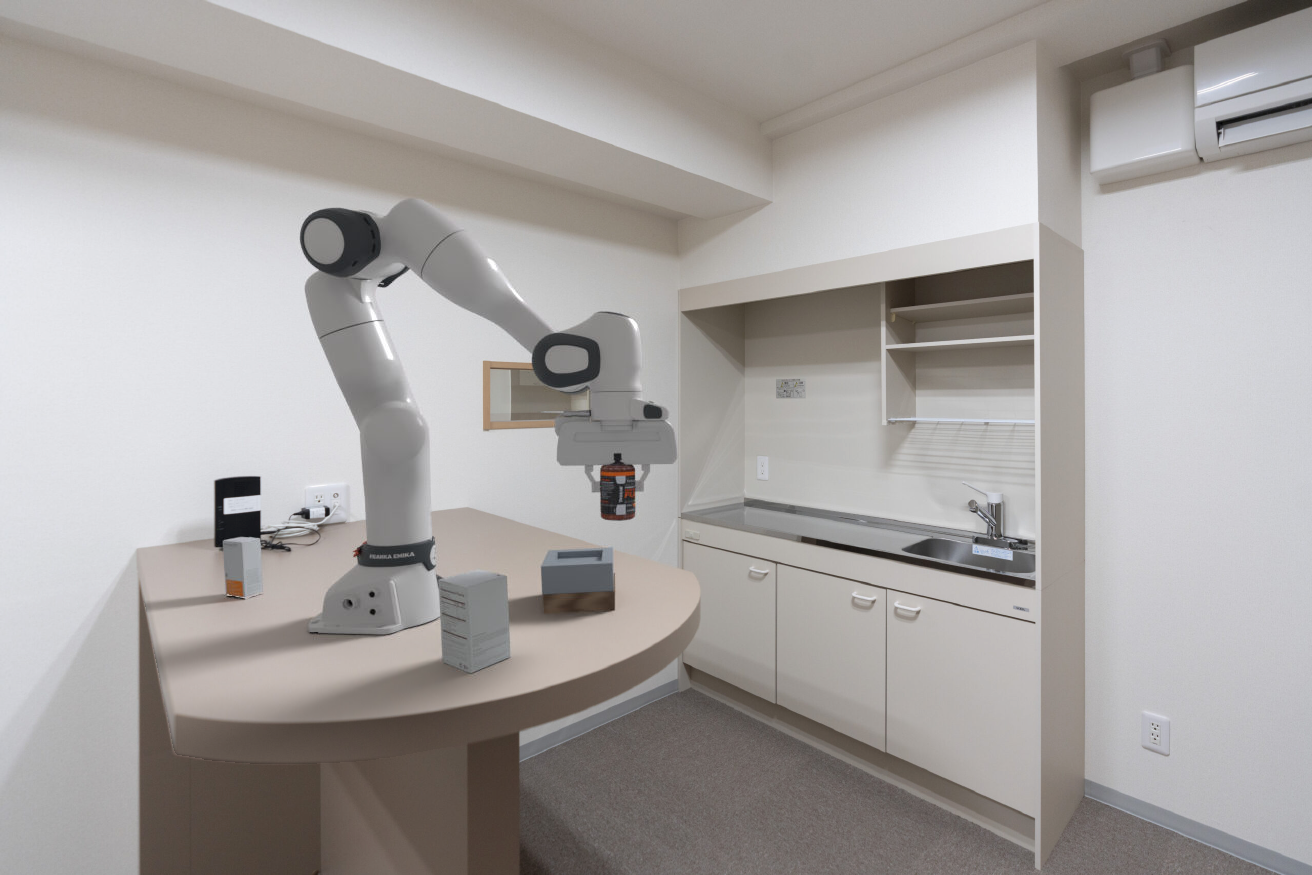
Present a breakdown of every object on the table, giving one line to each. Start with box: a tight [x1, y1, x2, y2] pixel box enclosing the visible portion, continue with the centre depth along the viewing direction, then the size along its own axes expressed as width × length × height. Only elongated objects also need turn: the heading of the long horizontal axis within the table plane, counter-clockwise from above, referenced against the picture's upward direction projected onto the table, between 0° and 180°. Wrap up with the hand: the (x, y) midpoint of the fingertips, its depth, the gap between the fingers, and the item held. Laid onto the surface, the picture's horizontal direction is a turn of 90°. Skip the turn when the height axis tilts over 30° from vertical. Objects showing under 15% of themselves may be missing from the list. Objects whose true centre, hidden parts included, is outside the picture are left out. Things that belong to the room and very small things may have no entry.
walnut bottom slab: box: [542, 572, 616, 614], centre depth 121 cm, size 13×13×4 cm
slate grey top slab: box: [540, 546, 615, 596], centre depth 121 cm, size 13×13×5 cm
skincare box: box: [222, 536, 264, 597], centre depth 131 cm, size 6×4×12 cm
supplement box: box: [437, 568, 512, 674], centre depth 93 cm, size 7×7×13 cm
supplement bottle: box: [599, 453, 637, 522], centre depth 106 cm, size 6×6×11 cm
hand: (617, 491), depth 106 cm, fingers closed on supplement bottle, 6 cm apart
